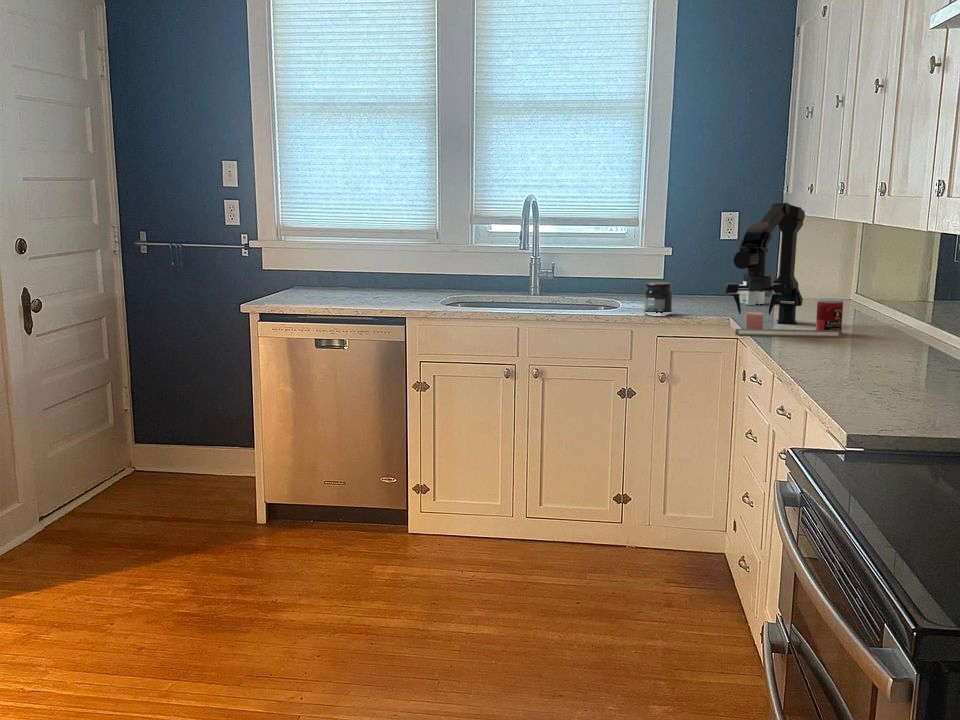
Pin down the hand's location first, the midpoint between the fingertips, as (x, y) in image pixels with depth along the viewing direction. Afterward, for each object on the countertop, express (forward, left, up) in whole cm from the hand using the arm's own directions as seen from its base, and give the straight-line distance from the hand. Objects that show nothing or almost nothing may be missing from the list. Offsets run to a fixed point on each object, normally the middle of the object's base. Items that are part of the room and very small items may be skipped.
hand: (754, 314), depth 291 cm
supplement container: (-37, -33, -6) cm, 50 cm away
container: (-72, +2, -6) cm, 72 cm away
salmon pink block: (0, 0, -6) cm, 6 cm away
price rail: (+8, +10, -6) cm, 14 cm away
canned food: (+1, +23, -6) cm, 24 cm away
